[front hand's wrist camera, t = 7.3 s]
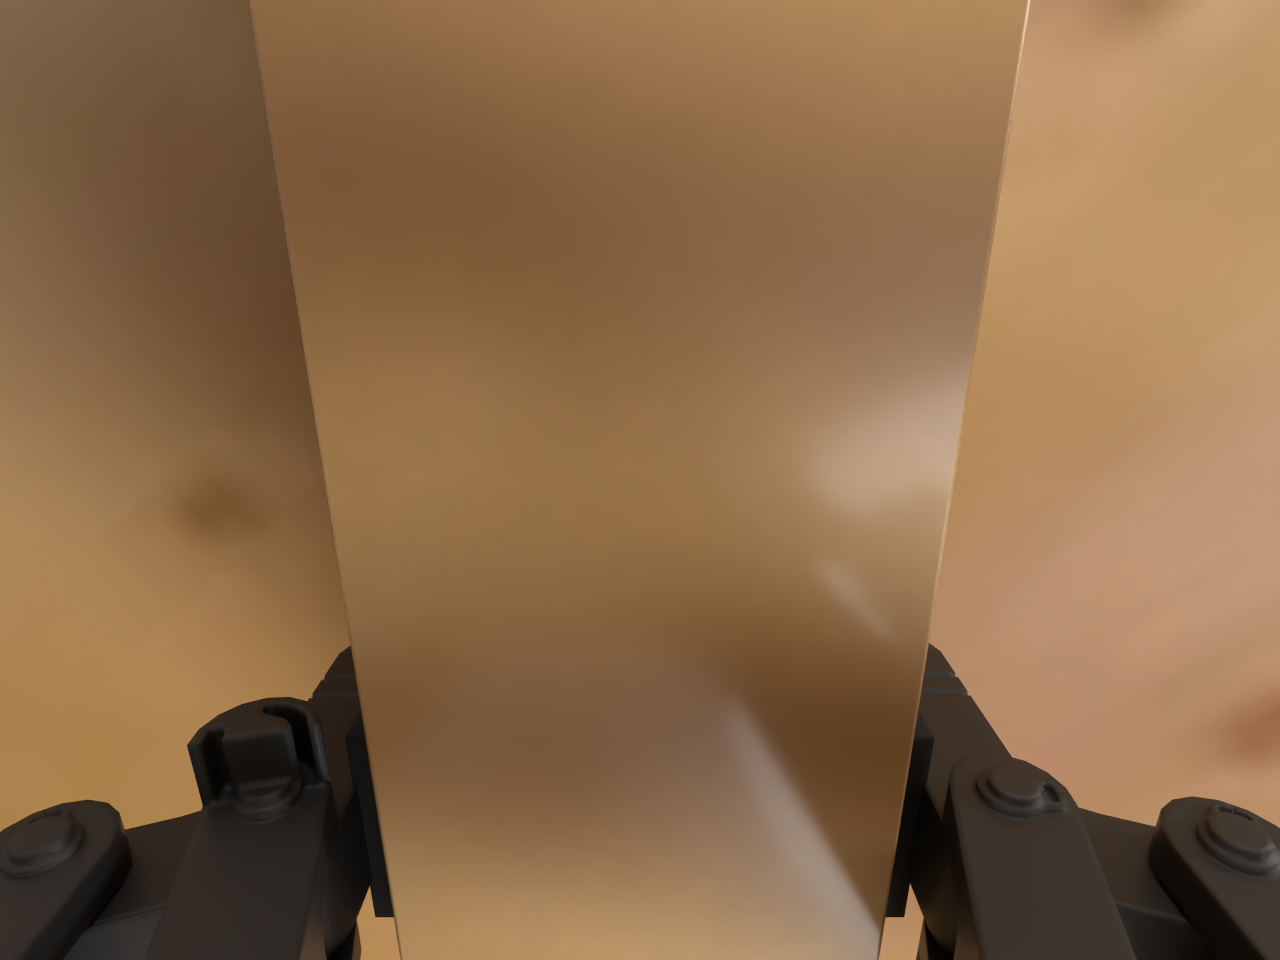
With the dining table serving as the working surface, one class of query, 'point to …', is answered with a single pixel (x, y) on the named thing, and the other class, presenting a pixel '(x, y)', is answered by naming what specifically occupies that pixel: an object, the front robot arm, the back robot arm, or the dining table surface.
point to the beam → (639, 441)
